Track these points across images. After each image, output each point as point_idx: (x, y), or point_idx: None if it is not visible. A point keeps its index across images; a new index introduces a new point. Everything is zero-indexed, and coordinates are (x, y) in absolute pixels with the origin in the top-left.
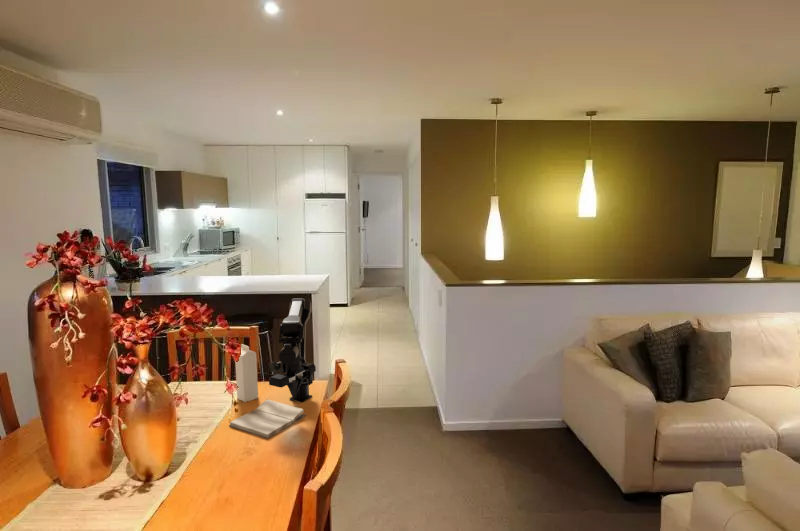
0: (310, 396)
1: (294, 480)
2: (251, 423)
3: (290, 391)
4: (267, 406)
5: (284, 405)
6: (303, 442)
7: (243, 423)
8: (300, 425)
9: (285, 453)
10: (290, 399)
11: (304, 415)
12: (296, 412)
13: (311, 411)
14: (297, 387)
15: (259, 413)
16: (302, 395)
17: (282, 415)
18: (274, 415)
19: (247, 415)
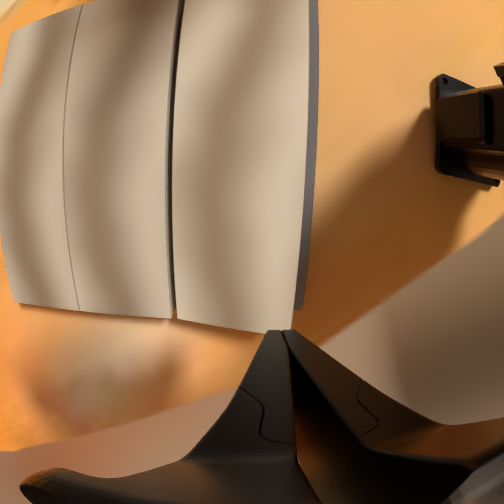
0: (491, 183)
1: (19, 445)
2: (26, 130)
3: (250, 371)
4: (233, 29)
5: (289, 156)
6: (104, 419)
7: (13, 95)
8: (192, 350)
9: (34, 398)
10: (436, 83)
11: (294, 307)
12: (243, 309)
13: (362, 297)
14: (303, 465)
15: (140, 49)
16: (475, 164)
17: (183, 223)
18: (160, 164)
19: (90, 20)
